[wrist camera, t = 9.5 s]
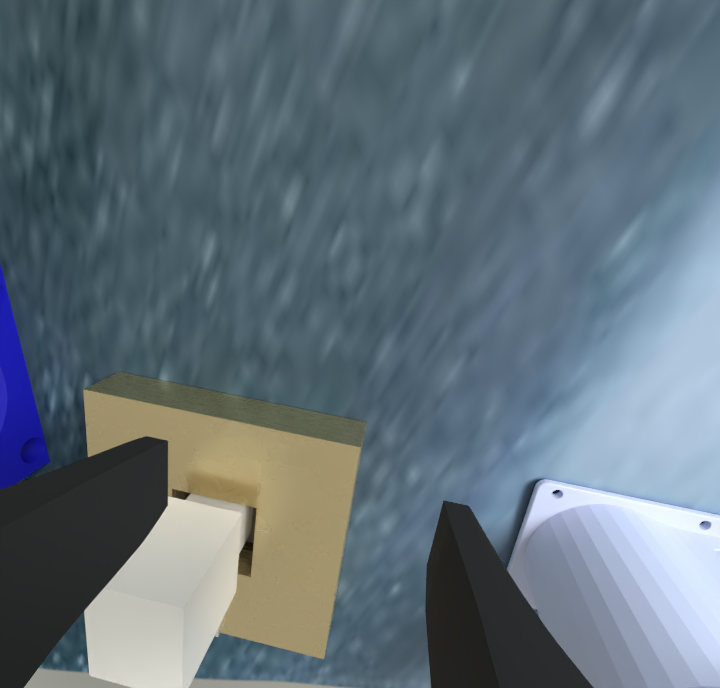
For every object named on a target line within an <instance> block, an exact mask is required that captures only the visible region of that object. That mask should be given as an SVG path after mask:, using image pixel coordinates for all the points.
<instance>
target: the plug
mask: <svg viewBox="0 0 720 688" xmlns="http://www.w3.org/2000/svg"><path fill="white" fill-rule="evenodd" d="M252 517H253V507H249V506H245V505H241V504H236V503H232V502H227V501H223V500H219V499H214V498H210V497H206V496H201V495H197V494H192V493H191V494H190V495H189V496H188V498H187V499H186V500H182V499H178V498H173V497H169V496H168V506H167V507H166V509H165V511H164V512H163V514H162V515H161V517H160V518H159V520H158V521H157V523H156V524H155V526H154V527H153V529H152V530H151V532H150V533H149V534H148V536H147V537H146V539H145V540H144V542H143V543H142V544H141V545H140V546H139V548H138V549H137V550H136V551H135V552H134V554H133V555H132V556H131V557H130V558H129V559H128V561H127V562H126V563H125V564H124V565H123V567H122V568H121V569H120V570H119V571H118V572H117V574H116V575H115V576H114V577H113V578H112V579H111V580H110V582H109V583H108V584H107V585H106V586H105V587H104V589H103V590H102V591H101V592H100V593H99V594H98V595H97V597H96V598H95V599H94V600H93V601H92V602H91V604H90V605H89V606H88V607H87V608H86V609H85V611H84V614H85V626H86V638H87V651H88V663H89V675H90V676H92V677H95V678H99V679H103V680H106V681H110V682H114V683H117V684H121V685H124V686H128V687H132V688H189V686H190V684H191V682H192V680H193V678H194V676H195V674H196V672H197V670H198V668H199V666H200V664H201V662H202V660H203V658H204V656H205V654H206V652H207V650H208V648H209V646H210V644H211V642H212V640H213V638H214V636H215V634H216V632H217V630H218V627H219V625H220V623H221V621H222V619H223V617H224V615H225V613H226V611H227V609H228V607H229V605H230V603H231V601H232V599H233V597H234V595H235V593H236V588H237V574H238V560H239V553H240V552H241V550H242V548H243V546H244V544H245V542H246V540H247V539H248V537H249V535H250V533H251V529H252Z"/></svg>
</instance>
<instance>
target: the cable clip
mask: <svg viewBox="0 0 720 688" xmlns="http://www.w3.org/2000/svg"><path fill="white" fill-rule="evenodd" d="M48 462H50V460H49V456H48V452H47V448H46V444H45V440H44V436H43V432H42V428H41V424H40V420H39V416H38V412H37V408H36V404H35V400H34V397H33V393H32V389H31V385H30V381H29V377H28V373H27V369H26V365H25V361H24V357H23V353H22V349H21V345H20V341H19V337H18V333H17V329H16V325H15V321H14V317H13V313H12V309H11V305H10V301H9V297H8V293H7V289H6V285H5V281H4V277H3V273H2V269H1V265H0V490H1V489H3V488H6V487H9V486H12V485H14V484H16V483H17V482H19V481H20V480H22V479H23V478H25V477H27V476H28V475H30V474H31V473H33V472H34V471H36V470H37V469H39V468H41V467H42V466H44V465H45V464H47V463H48Z"/></svg>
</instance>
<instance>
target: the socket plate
mask: <svg viewBox="0 0 720 688" xmlns="http://www.w3.org/2000/svg"><path fill="white" fill-rule="evenodd" d="M83 392H84V406H85V421H86V436H87V451H88V457H90V456H93V455H95V454H98V453H101V452H103V451H106V450H108V449H111V448H113V447H116V446H119V445H121V444H124V443H127V442H130V441H132V440H135V439H138V438H142V437H145V436H149V437H153V438H158V439H163V440H167V441H168V496H169V497H173V498H178V499H182V500H186V499H187V498H188V496H189V495H190V494H191V493H192V494H197V495H201V496H206V497H210V498H214V499H219V500H223V501H227V502H232V503H236V504H241V505H245V506H249V507H254V508H257V509H256V521H255V533H254V543H250V542H245V544H244V546H243V548H242V550H241V552H240V553H239V560H238V574H237V588H236V593H235V595H234V597H233V599H232V601H231V603H230V605H229V607H228V609H227V611H226V613H225V615H224V617H223V619H222V621H221V623H220V625H219V627H218V630H217V632H216V634H215V636H216V637H218V636H219V634H220V633H224V634H228V635H232V636H236V637H240V638H243V639H247V640H251V641H255V642H259V643H263V644H267V645H270V646H274V647H278V648H282V649H286V650H290V651H294V652H298V653H301V654H305V655H309V656H313V657H317V658H321V659H324V657H325V652H326V648H327V643H328V638H329V634H330V629H331V624H332V620H333V614H334V608H335V603H336V597H337V591H338V586H339V580H340V574H341V568H342V563H343V557H344V551H345V546H346V540H347V534H348V528H349V523H350V517H351V511H352V506H353V500H354V494H355V488H356V483H357V477H358V471H359V466H360V460H361V454H362V448H363V443H364V437H365V431H366V425H367V422H364V421H359V420H354V419H349V418H344V417H339V416H334V415H329V414H324V413H319V412H315V411H310V410H305V409H300V408H295V407H290V406H285V405H280V404H275V403H270V402H265V401H260V400H256V399H251V398H246V397H241V396H236V395H231V394H226V393H221V392H216V391H211V390H206V389H201V388H197V387H192V386H187V385H182V384H177V383H172V382H167V381H162V380H157V379H152V378H147V377H142V376H138V375H133V374H128V373H123V372H118V373H116V374H114V375H112V376H110V377H108V378H106V379H104V380H102V381H100V382H98V383H96V384H93V385H91V386H89V387H87V388H85V389H83Z"/></svg>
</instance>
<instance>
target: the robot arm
mask: <svg viewBox="0 0 720 688" xmlns="http://www.w3.org/2000/svg"><path fill="white" fill-rule="evenodd" d="M555 490H560V491H559V493H556V494H553V493H552V492H553V491H555ZM167 506H168V441H167V440H163V439H158V438H153V437H149V436H145V437H142V438H138V439H135V440H132V441H130V442H127V443H124V444H121V445H119V446H116V447H113V448H111V449H108V450H106V451H103V452H101V453H98V454H95V455H93V456H90V457H88V458H85V459H83V460H80V461H77V462H75V463H72V464H70V465H67V466H64V467H62V468H59V469H57V470H54V471H51V472H49V473H46V474H43V475H40V476H37V477H35V478H32V479H29V480H26V481H23V482H20V483H18V484H15V485H12V486H9V487H6V488H3V489H1V490H0V688H24V686H25V685H26V684H27V683H28V681H29V680H30V678H31V677H32V676H33V674H34V673H35V672H36V670H37V669H38V668H39V666H40V665H41V664H42V662H43V661H44V659H45V658H46V657H47V655H48V654H49V653H50V651H51V650H52V649H53V648H54V646H55V645H56V644H57V643H58V641H59V640H60V639H61V638H62V636H63V635H64V634H65V633H66V632H67V630H68V629H69V628H70V627H71V626H72V624H73V623H74V622H75V621H76V620H77V619H78V617H79V616H80V615H81V614H82V613H83V612H84V611H85V609H86V608H87V607H88V606H89V605H90V604H91V602H92V601H93V600H94V599H95V598H96V597H97V595H98V594H99V593H100V592H101V591H102V590H103V589H104V587H105V586H106V585H107V584H108V583H109V582H110V580H111V579H112V578H113V577H114V576H115V575H116V574H117V572H118V571H119V570H120V569H121V568H122V567H123V565H124V564H125V563H126V562H127V561H128V559H129V558H130V557H131V556H132V555H133V554H134V552H135V551H136V550H137V549H138V548H139V546H140V545H141V544H142V543H143V542H144V540H145V539H146V537H147V536H148V534H149V533H150V532H151V530H152V529H153V527H154V526H155V524H156V523H157V521H158V520H159V518H160V517H161V515H162V514H163V512H164V511H165V509H166V507H167ZM703 521H705V522H704V523H702V524H700V523H701V522H703ZM533 609H536V610H537V611H538V615H539V617H538V615H537V614H536V613H535V611H534V610H533ZM426 623H427V637H428V650H429V663H430V676H431V688H720V515H716V514H712V513H707V512H702V511H697V510H692V509H687V508H683V507H678V506H673V505H668V504H663V503H659V502H654V501H649V500H644V499H639V498H635V497H630V496H625V495H620V494H615V493H610V492H606V491H601V490H596V489H591V488H586V487H582V486H577V485H572V484H567V483H562V482H558V481H553V480H548V479H543V480H540V481H539V482H537V483H536V485H535V487H534V490H533V493H532V496H531V499H530V502H529V505H528V508H527V511H526V514H525V517H524V520H523V523H522V526H521V529H520V532H519V535H518V538H517V541H516V544H515V547H514V550H513V553H512V555H511V558H510V561H509V564H508V567H507V569H506V567H505V566H504V564H503V563H502V561H501V559H500V558H499V556H498V555H497V553H496V551H495V550H494V548H493V546H492V545H491V543H490V541H489V540H488V538H487V536H486V534H485V533H484V531H483V529H482V527H481V526H480V524H479V522H478V520H477V519H476V517H475V515H474V514H473V512H472V510H471V509H470V507H469V506H467V505H462V504H457V503H453V502H448V501H443V505H442V509H441V513H440V517H439V521H438V525H437V528H436V532H435V536H434V540H433V544H432V548H431V552H430V555H429V559H428V563H427V577H426Z"/></svg>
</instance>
